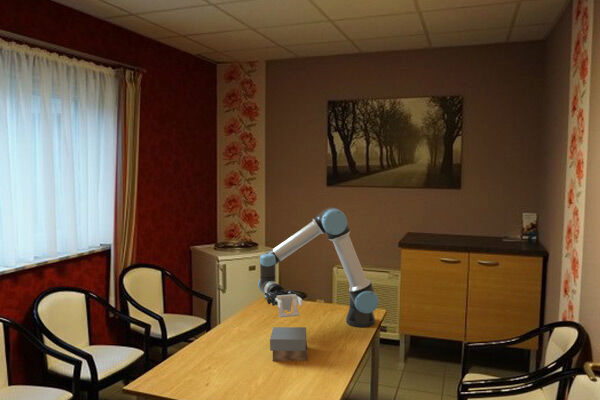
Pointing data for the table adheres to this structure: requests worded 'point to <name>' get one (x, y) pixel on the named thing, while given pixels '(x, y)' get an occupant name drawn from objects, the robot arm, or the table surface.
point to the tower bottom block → (291, 355)
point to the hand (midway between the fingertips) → (291, 303)
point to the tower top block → (288, 339)
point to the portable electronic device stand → (288, 305)
